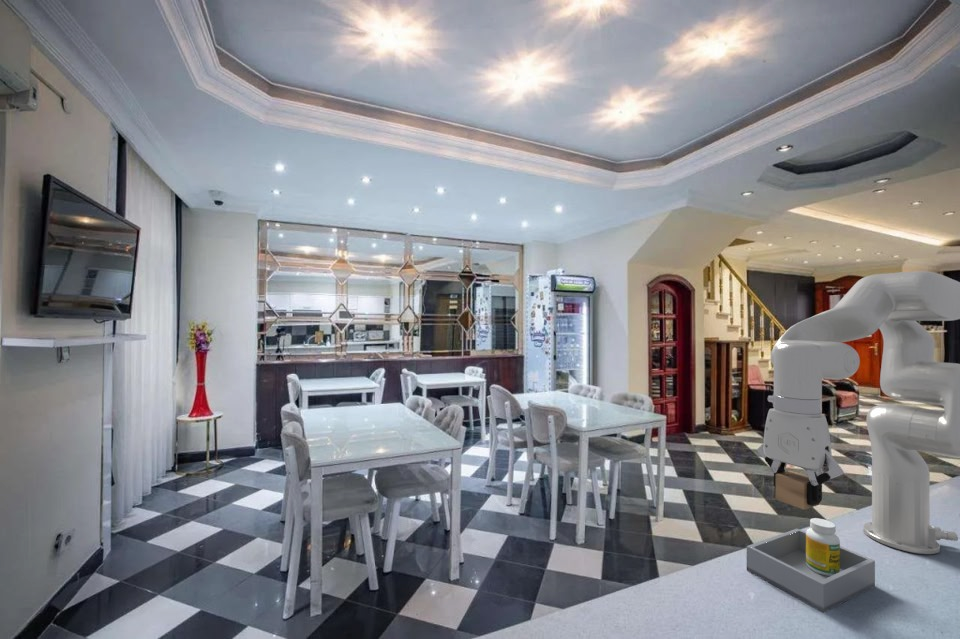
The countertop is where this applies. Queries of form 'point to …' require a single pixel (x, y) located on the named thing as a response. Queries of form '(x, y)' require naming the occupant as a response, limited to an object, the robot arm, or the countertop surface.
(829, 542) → the supplement bottle
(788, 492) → the walnut cube
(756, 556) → the tote
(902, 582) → the countertop surface
